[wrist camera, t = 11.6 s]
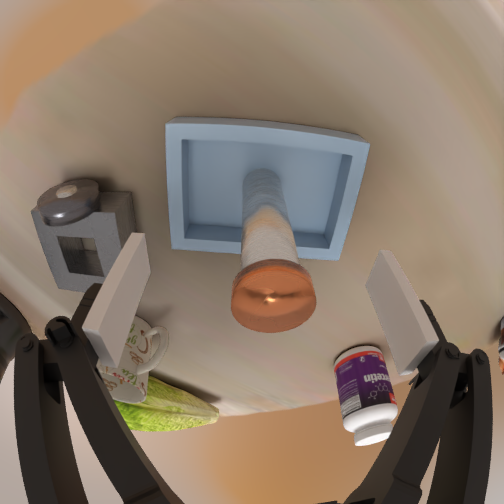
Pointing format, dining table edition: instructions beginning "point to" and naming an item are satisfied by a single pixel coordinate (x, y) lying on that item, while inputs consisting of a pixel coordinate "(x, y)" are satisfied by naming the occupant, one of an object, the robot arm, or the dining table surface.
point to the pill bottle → (365, 394)
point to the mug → (134, 363)
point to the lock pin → (269, 261)
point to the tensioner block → (82, 231)
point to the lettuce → (167, 409)
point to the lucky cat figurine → (501, 347)
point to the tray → (256, 157)
